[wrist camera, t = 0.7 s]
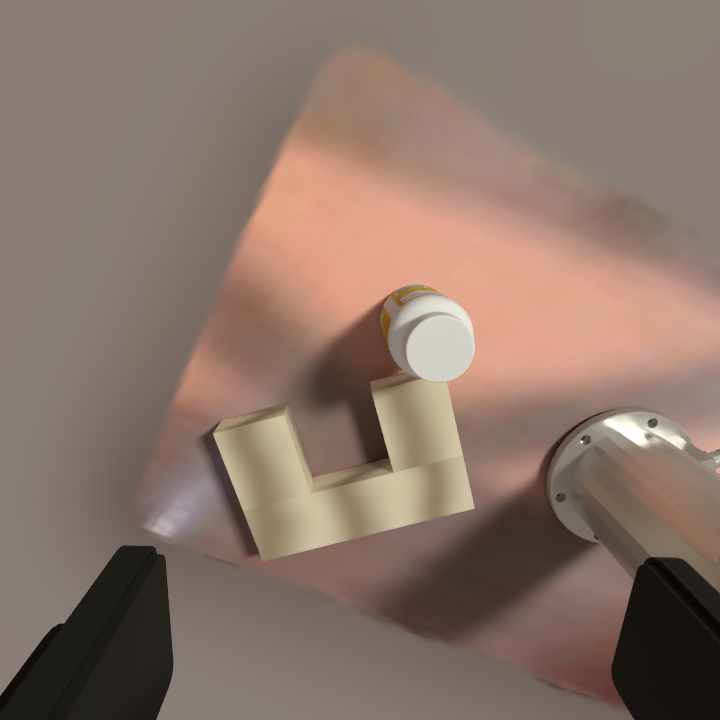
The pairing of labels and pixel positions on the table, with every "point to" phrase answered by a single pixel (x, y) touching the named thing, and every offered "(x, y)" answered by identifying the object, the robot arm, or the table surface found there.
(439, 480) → the notched board
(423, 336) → the supplement bottle
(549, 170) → the table surface
